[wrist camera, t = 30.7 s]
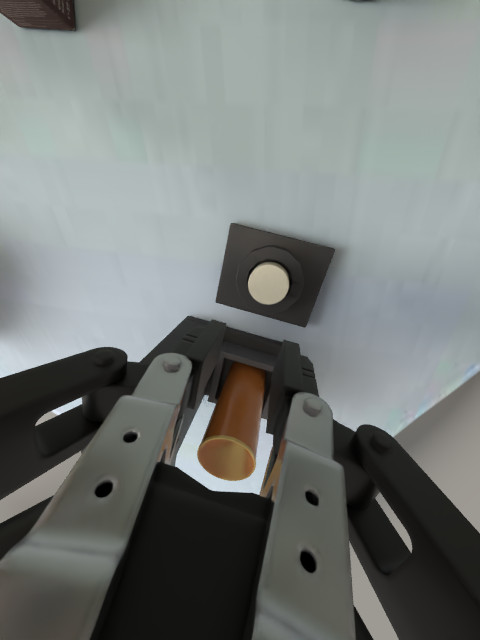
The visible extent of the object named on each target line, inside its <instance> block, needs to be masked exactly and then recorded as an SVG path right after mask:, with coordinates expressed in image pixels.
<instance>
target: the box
mask: <svg viewBox="0 0 480 640" xmlns="http://www.w3.org/2000/svg"><path fill="white" fill-rule="evenodd" d="M0 13H1V14H3V15H4V16H5V17H7V18H8V19H9V20H11V21H12V22H13V23H15V24H16V25H17V26H19V27H26V28H42V29H60V30H74V28H75V21H74V9H73V0H0Z"/></svg>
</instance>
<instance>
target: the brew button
mask: <svg viewBox="0 0 480 640" xmlns="http://www.w3.org/2000/svg"><path fill="white" fill-rule="evenodd" d="M248 288H249V292H250V294H251V295H252V297H253V298H254V299H255V300H256V301H258V302H260V303H262V304H275V303H277V302H279V301H281V300H282V299H283V298H284V297H285V296H286V294H287V292H288V289H289V277H288V274H287V272H286V270H285V269H284V268H283V267H282V266H281V265H279V264H277V263H275V262H265V263H262V264H260V265H258V266H257V267H256V268H255V269H254V271H253V272H252V274H251V275H250V277H249V281H248Z"/></svg>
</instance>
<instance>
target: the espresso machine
mask: <svg viewBox="0 0 480 640" xmlns="http://www.w3.org/2000/svg"><path fill="white" fill-rule="evenodd" d="M208 324H209V322H208V321H205V320H201V319H198V318H194V317H191V316H187V317H186V318H185V319H184V320H183V321H182V322H181V323H180V324H179V325H178V326H177V327H176V328H175V329H174V330H173V331H172V332H171V333H170V334H169V335H167V336H166V337H165V338H164V339H163V340H162V341H161V342H160V343H159V344H158V345H157V346H156V347H155V348H154V349H153V350H152V351H151V352H150V353H149V354H148V355H147V356H146V357H145V358H143V359H142V360H141V361H140V362H139V363H151V362H152V361H153V360H154V358H155V357H157V356H159V355H161V354H164V353H170V352H171V351H172V350H173V348H174V347H175V346H176V345H177V344H178V343H179V342H180V341H181V339H182V338H183V337H184V336H185V335H186V334H187V333H188V332H189V330H190V329H192V328H194V327H197V326H202V327H205V328H206V326H207V325H208ZM281 345H282V343H281V342H278V341H274V340H271V339H267V338H264V337H260V336H257V335H253V334H250V333H246V332H243V331H239V330H236V329H232V328H229V327H226V330H225V334H224V339H223V343H222V348H221V352H220V355H219V359H218V361H217V363H216V365H215V368H214V370H213V372H212V374H211V376H210V378H209V380H208V382H207V384H206V386H205V388H204V390H203V392H202V394H201V396H200V398H199V400H198V402H197V404H196V406H195V408H194V410H193V409H190V408H186V410H185V412H184V416H183V422H182V425H181V429H180V432H179V436H178V439H177V442H176V446H175V449H174V453H173V456H172V459H171V463H170V465H171V466H174V467H175V461H176V455H177V452H178V450H179V448H180V446H181V444H182V442H183V440H184V438H185V435H186V433H187V431H188V429H189V427H190V425H191V423H192V420H193V418H194V416H195V414H196V412H197V410H198V408H199V406H200V403H201V401H202V399H203V397H204V395H209V398H208V401H209V402H212V403H217V400H218V398H219V395H220V392H221V390H222V387H223V385H224V382H225V379H226V377H227V374H228V372H229V369H230V367H231V365H232V364H233V363H234V362H235V361H237V362H240V363H243V364H247V365H250V366H254V367H257V368H260V369H264V370H265V372H266V382H265V390H264V398H263V406H262V414H261V418H264V419H267V417H268V406H269V396H270V385H271V376H272V372H273V368H274V365H275V362H276V359H277V356H278V354H279V351H280V348H281ZM85 449H86V448H84V449H83V450H81V453H83V452H84V450H85Z"/></svg>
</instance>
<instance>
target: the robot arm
mask: <svg viewBox="0 0 480 640" xmlns="http://www.w3.org/2000/svg"><path fill="white" fill-rule="evenodd" d="M225 330H226V323H223V322H219V321H216V320H213V319H212V320H211V321H210V322H209V324H208V325H207V326H206V328H205V327H202V326H197V327H194V328H192V329H190V330H189V332H188V333H187V334H186V335H185V336H184V337H183V338H182V339H181V341H180V342H179V343H178V344H177V345H176V346H175V347H174V348H173V350H172V351H171V352H170V353H164V354H161V355H159V356H157V357H155V358H154V360H153V361H152V362H151V363H138V362H127V354H126V353H125V352H124V351H122V350H120V349H118V348H113V347H101V348H96V349H92V350H89V351H86V352H83V353H79V354H76V355H73V356H70V357H67V358H63V359H60V360H57V361H54V362H51V363H47V364H44V365H41V366H38V367H35V368H31V369H28V370H25V371H22V372H19V373H15V374H12V375H9V376H6V377H3V378H0V500H1V499H3V498H4V497H6V496H8V495H9V494H10V493H12V492H14V491H16V490H17V489H19V488H21V487H22V486H24V485H25V484H27V483H29V482H30V481H32V480H34V479H35V478H37V477H39V476H40V475H42V474H43V473H45V472H47V471H48V470H50V469H52V468H53V467H55V466H56V465H58V464H59V463H61V462H63V461H65V460H66V459H68V458H70V457H71V456H73V455H74V454H76V453H78V452H79V451H81V450H83V449H84V448H86V449H85V450H84V452H83V453H82V455H81V456H80V458H79V459H78V461H77V462H76V464H75V465H74V467H73V469H72V470H71V471H70V473H69V475H68V476H67V477H66V479H65V480H64V482H63V483H62V485H61V486H60V488H59V489H58V491H57V492H56V494H55V495H54V496H52V497H50V498H48V499H46V500H44V501H42V502H40V503H38V504H36V505H34V506H32V507H31V508H29V509H27V510H25V511H23V512H21V513H19V514H17V515H15V516H14V517H12V518H10V519H8V520H6V521H4V522H2V523H0V640H373V638H372V636H371V635H370V633H369V631H368V630H367V628H366V626H365V624H364V622H363V621H362V619H361V617H360V615H359V613H358V612H357V610H356V608H355V607H354V605H353V593H352V577H351V562H350V548H349V541H350V543H351V545H352V547H353V549H354V551H355V553H356V555H357V557H358V559H359V561H360V563H361V565H362V567H363V569H364V571H365V573H366V575H367V577H368V579H369V581H370V583H371V585H372V587H373V589H374V591H375V593H376V595H377V597H378V599H379V601H380V602H381V604H382V607H383V609H384V611H385V613H386V615H387V617H388V618H389V621H390V622H391V624H392V626H393V628H394V630H395V632H396V634H397V636H398V638H399V640H480V533H479V532H478V531H477V530H476V529H475V528H474V527H473V526H472V524H471V523H470V522H469V521H468V520H467V519H466V518H465V517H464V516H463V514H462V513H461V512H460V511H459V510H458V509H457V508H456V507H455V506H454V505H453V503H452V502H451V501H450V500H449V499H448V498H447V497H446V495H444V493H443V492H442V491H441V490H440V489H439V488H438V487H437V485H436V484H435V483H434V482H433V481H432V480H431V479H430V478H429V477H428V476H427V474H426V473H425V472H424V471H423V470H422V469H421V468H420V467H419V466H418V464H417V463H416V462H415V461H414V460H413V459H412V458H411V457H410V456H409V454H408V453H407V452H406V451H405V450H404V449H403V448H402V447H401V446H400V444H399V443H398V442H397V441H396V440H395V439H394V438H393V437H392V436H391V435H389V434H388V433H387V432H385V431H383V430H382V429H380V428H378V427H375V426H372V425H367V424H364V425H361V426H359V427H358V429H357V431H356V432H355V431H353V430H351V429H349V428H347V427H345V426H344V425H342V424H340V423H338V422H337V421H335V420H334V419H333V413H332V410H331V408H330V407H329V405H328V404H327V403H326V402H325V401H324V400H322V399H321V398H320V397H319V394H318V389H317V383H316V379H315V373H314V368H313V364H312V363H311V361H310V360H309V359H308V357H305V356H302V355H300V348H299V344H297V343H293V342H290V341H286V340H283V342H282V345H281V348H280V351H279V354H278V356H277V359H276V362H275V365H274V368H273V372H272V376H271V385H270V396H269V406H268V417H267V428H266V433H269V434H272V435H273V447H272V450H271V453H270V457H269V460H268V464H267V468H266V472H265V476H264V480H263V483H262V487H261V491H260V495H257V494H254V493H240V492H218V491H212V490H209V489H208V488H206V487H205V486H203V485H202V484H200V483H199V482H197V481H196V480H195V479H193V478H192V477H190V476H189V475H187V474H186V473H184V472H183V471H181V470H180V469H179V468H177V467H174V466H171V465H170V463H171V459H172V456H173V453H174V449H175V446H176V442H177V439H178V436H179V432H180V429H181V425H182V422H183V416H184V412H185V410H186V408H190V409H193V410H194V408H195V406H196V404H197V402H198V400H199V398H200V396H201V394H202V392H203V390H204V388H205V386H206V384H207V382H208V380H209V378H210V376H211V374H212V372H213V370H214V368H215V365H216V363H217V361H218V359H219V355H220V352H221V348H222V343H223V339H224V334H225ZM81 397H82V404H81V405H79V406H77V407H75V408H73V409H71V410H69V411H67V412H64V413H62V414H60V415H58V416H56V417H54V418H52V419H50V420H48V421H45V422H43V423H41V424H39V425H37V426H35V424H36V422H37V421H38V420H39V419H40V418H41V417H42V416H43V415H44V414H46V413H47V412H49V411H52V410H54V409H56V408H58V407H61V406H63V405H65V404H67V403H69V402H72V401H74V400H76V399H78V398H81ZM379 492H381V494H382V495H383V497H384V498H385V500H386V501H387V503H388V504H389V506H390V507H391V509H392V510H393V511H394V513H395V514H396V516H397V517H398V519H399V520H400V521H401V523H402V524H403V526H404V527H405V529H406V530H407V532H408V534H409V536H410V539H411V542H412V548H413V549H412V554H411V552H410V551H409V549H408V548H407V546H406V545H405V543H404V542H403V540H402V539H401V537H400V536H399V534H398V533H397V531H396V530H395V528H394V526H393V525H392V523H391V522H390V521H389V519H388V517H387V516H386V514H385V513H384V511H383V510H382V508H381V507H380V505H379V504H378V502H377V501H376V499H375V497H376V496H377V495H378V494H379Z"/></svg>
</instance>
